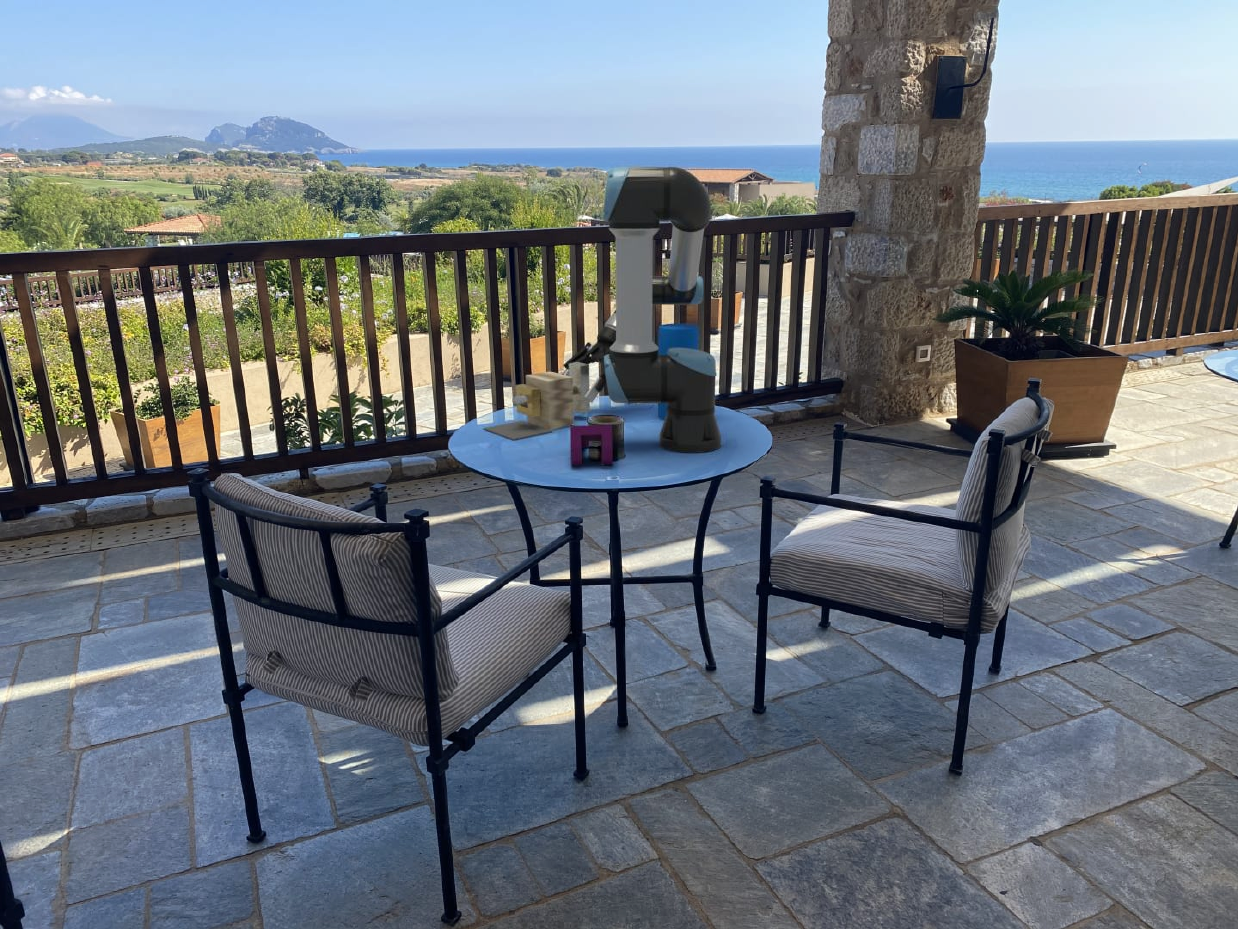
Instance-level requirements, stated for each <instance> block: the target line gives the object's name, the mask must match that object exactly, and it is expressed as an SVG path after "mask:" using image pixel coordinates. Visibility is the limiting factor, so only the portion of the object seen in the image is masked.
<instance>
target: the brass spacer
mask: <svg viewBox="0 0 1238 929" xmlns="http://www.w3.org/2000/svg"><path fill="white" fill-rule="evenodd" d="M521 395H525V396H527V402H528V404H523V405H518V406H516V413H519V414H522V415H524V416H526V417H527V416H530V417H536V416H540V398H539V388H536V387H532V386H529V385H526V383H525V384H524V383H522V384H521V383H520V384H515V396H521Z"/></svg>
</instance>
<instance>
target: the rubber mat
mask: <svg viewBox="0 0 1238 929" xmlns="http://www.w3.org/2000/svg"><path fill="white" fill-rule="evenodd" d="M483 430H484V431H486V432H489V433H492V434H494V435H497V436H499V437H503V438H505V439H508V440H510V441H513V442H515V441H518V440H525V439H528V438H533V437H537V436H541V435H546V434H551V433H553V430H548V429H545V428H542V427H540V426H537V425H534V424H531V423H528V422H527V421H524V420H522V419H521V420H516V421H513V422H508V423H503V424H497V425H493V426H487V427H483Z"/></svg>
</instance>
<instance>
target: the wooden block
mask: <svg viewBox="0 0 1238 929" xmlns="http://www.w3.org/2000/svg"><path fill="white" fill-rule="evenodd" d="M525 385H529V386H532V387H536V388H539V392H541V401H540V416H536V417H530V416H527V415H526V417H527V418H526V419H527V420H526V422H528V423H531V424H534V425H537V426H540V427H542V428H545V429H548V430H551V431H553V430H558V429H561V428H562V427H563V428H566V427H565V426H568V427H570V426H569V425H572V424H575V421H574V411H573V377H570V376H566V375H563V374H561V373H557V372H553V371H543V372H539V373H533V374H526V375H525ZM572 426H573V425H572ZM563 428H562V429H563Z"/></svg>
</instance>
